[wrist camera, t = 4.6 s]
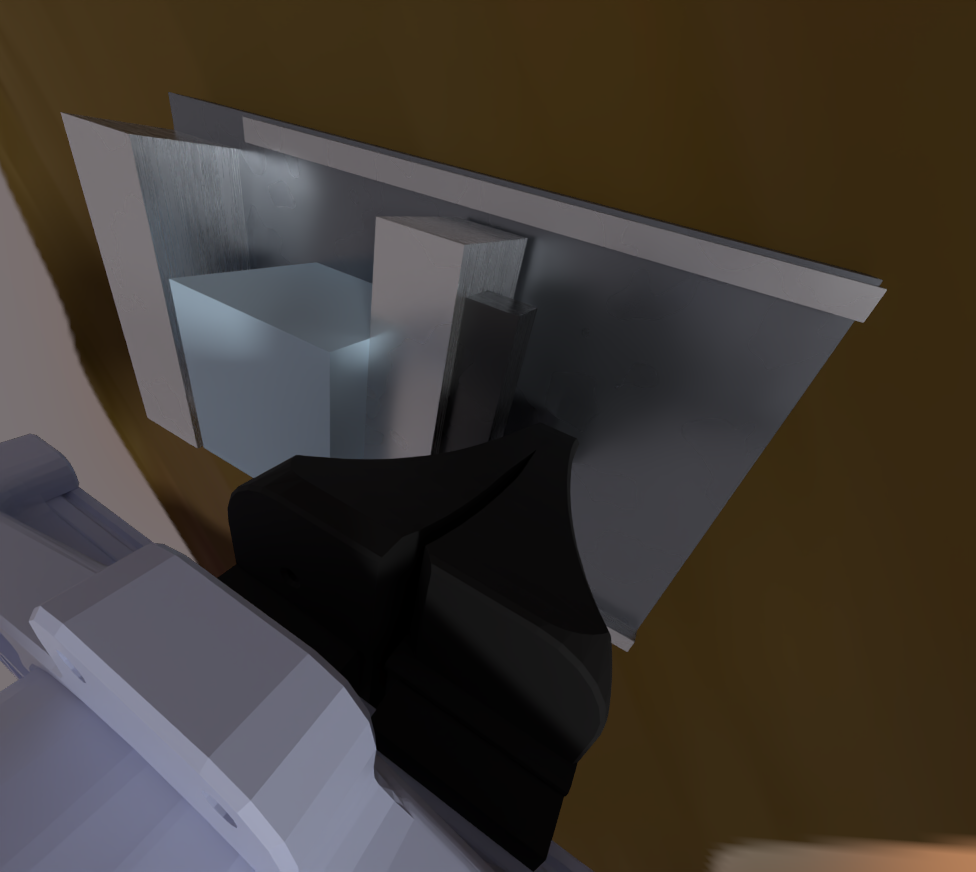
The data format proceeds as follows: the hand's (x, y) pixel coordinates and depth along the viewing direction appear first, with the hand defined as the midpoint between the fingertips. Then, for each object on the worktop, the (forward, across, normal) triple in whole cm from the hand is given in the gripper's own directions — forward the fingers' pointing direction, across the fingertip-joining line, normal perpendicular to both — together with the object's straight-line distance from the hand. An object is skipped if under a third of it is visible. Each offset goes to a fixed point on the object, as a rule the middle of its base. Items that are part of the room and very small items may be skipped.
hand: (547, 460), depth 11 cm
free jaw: (+1, +3, 0) cm, 3 cm away
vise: (+2, +6, 0) cm, 6 cm away
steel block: (+1, +7, 0) cm, 7 cm away
